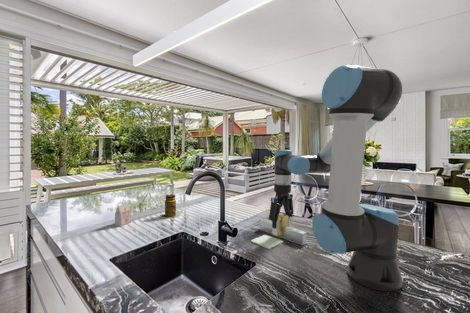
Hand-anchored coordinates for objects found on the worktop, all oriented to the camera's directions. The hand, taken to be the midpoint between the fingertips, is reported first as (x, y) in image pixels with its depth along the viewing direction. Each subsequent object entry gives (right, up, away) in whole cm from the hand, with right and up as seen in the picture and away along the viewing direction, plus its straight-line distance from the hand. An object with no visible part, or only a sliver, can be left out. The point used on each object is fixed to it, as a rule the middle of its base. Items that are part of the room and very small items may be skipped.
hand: (281, 232), depth 109 cm
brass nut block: (0, -2, 0) cm, 2 cm away
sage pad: (-7, -2, -7) cm, 10 cm away
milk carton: (-79, 0, +13) cm, 80 cm away
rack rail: (0, -2, 0) cm, 2 cm away
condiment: (-59, +1, +27) cm, 65 cm away
